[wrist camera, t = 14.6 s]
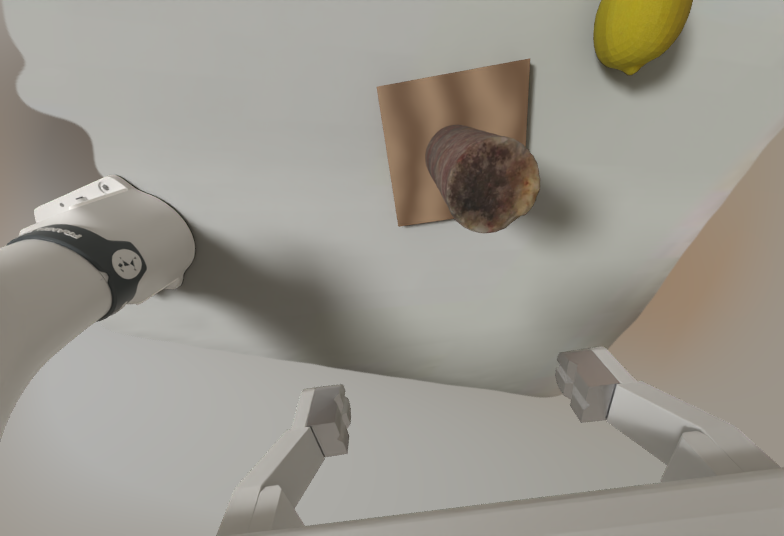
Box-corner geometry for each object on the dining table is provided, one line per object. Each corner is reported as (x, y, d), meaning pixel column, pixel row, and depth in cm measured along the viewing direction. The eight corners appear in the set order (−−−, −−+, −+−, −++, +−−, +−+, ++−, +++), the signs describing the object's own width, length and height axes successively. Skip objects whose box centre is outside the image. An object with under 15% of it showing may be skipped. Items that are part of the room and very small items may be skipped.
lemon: (636, 75, 37) (693, 68, 30) (570, 81, 37) (612, 76, 30) (667, -47, 32) (746, -90, 24) (591, -38, 32) (647, -78, 25)
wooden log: (415, 134, 39) (435, 160, 21) (472, 112, 37) (542, 119, 20) (433, 190, 42) (461, 252, 24) (485, 171, 41) (554, 223, 23)
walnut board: (398, 223, 46) (398, 226, 45) (377, 87, 37) (376, 86, 36) (518, 205, 44) (522, 208, 43) (525, 60, 36) (530, 58, 35)
